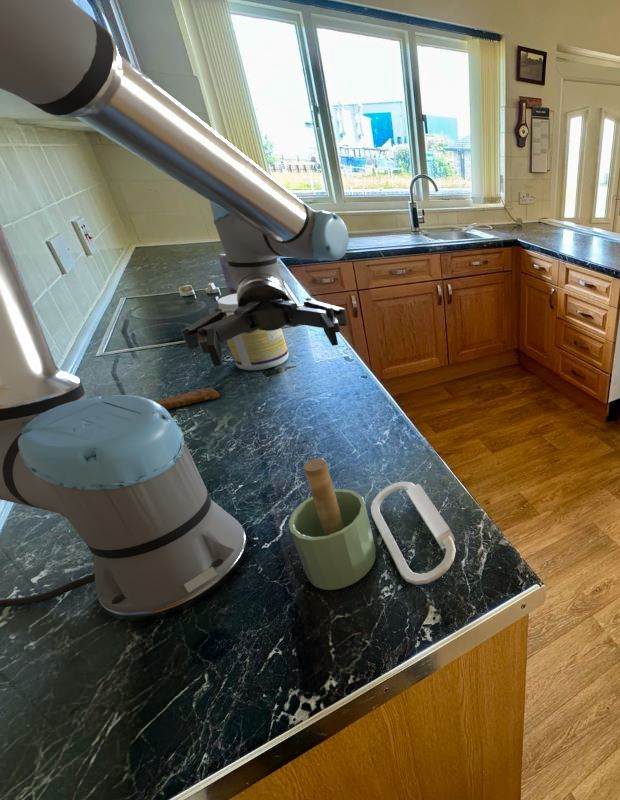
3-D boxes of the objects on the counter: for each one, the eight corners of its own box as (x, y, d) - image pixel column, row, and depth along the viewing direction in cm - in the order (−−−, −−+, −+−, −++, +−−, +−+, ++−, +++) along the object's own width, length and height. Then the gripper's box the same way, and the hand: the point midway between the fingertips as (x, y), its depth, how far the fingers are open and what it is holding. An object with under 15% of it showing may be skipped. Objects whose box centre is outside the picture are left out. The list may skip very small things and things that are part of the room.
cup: (312, 601, 52) (293, 551, 48) (302, 553, 58) (285, 504, 54) (383, 570, 56) (372, 521, 52) (366, 528, 62) (355, 481, 58)
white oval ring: (369, 508, 68) (359, 493, 66) (415, 481, 71) (407, 465, 68) (416, 603, 54) (405, 588, 51) (471, 564, 57) (463, 548, 54)
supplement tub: (298, 352, 116) (281, 291, 107) (275, 372, 105) (255, 305, 97) (252, 352, 115) (231, 290, 107) (225, 371, 105) (200, 305, 96)
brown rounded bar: (212, 389, 97) (206, 375, 95) (222, 396, 94) (216, 382, 92) (101, 425, 84) (92, 410, 82) (109, 435, 81) (100, 419, 79)
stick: (334, 569, 56) (305, 473, 48) (331, 556, 57) (302, 462, 49) (354, 561, 57) (328, 466, 49) (350, 548, 58) (324, 455, 50)
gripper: (348, 313, 78) (379, 353, 63) (180, 337, 66) (167, 393, 51) (340, 272, 75) (371, 303, 59) (160, 289, 63) (141, 334, 47)
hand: (277, 345), depth 55 cm, fingers open, 13 cm apart
